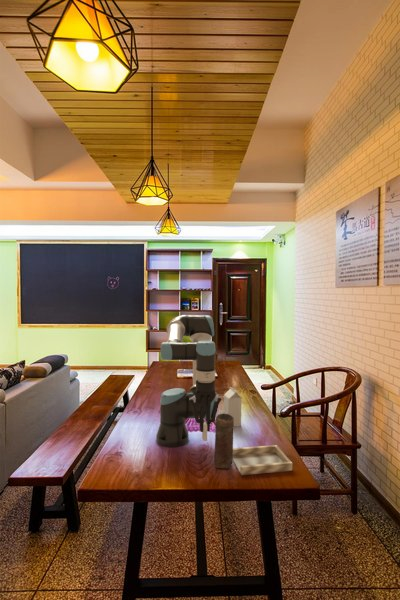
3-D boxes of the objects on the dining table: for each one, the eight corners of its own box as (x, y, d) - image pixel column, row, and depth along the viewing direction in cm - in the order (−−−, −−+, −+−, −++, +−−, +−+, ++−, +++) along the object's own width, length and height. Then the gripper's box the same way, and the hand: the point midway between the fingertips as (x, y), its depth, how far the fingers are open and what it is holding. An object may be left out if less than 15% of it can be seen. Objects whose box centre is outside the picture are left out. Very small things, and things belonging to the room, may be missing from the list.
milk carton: (228, 427, 167) (228, 391, 167) (223, 422, 174) (224, 387, 173) (241, 426, 169) (241, 390, 169) (236, 420, 176) (236, 386, 175)
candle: (231, 461, 134) (232, 413, 134) (234, 470, 127) (235, 420, 126) (213, 461, 134) (214, 413, 133) (214, 471, 127) (215, 420, 126)
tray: (241, 475, 124) (241, 467, 124) (230, 455, 139) (230, 448, 139) (292, 470, 128) (292, 463, 128) (276, 451, 143) (276, 444, 143)
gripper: (190, 383, 123) (189, 444, 124) (223, 382, 126) (222, 442, 126) (187, 378, 131) (187, 436, 131) (219, 377, 133) (218, 434, 134)
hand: (204, 439), depth 129 cm, fingers closed
